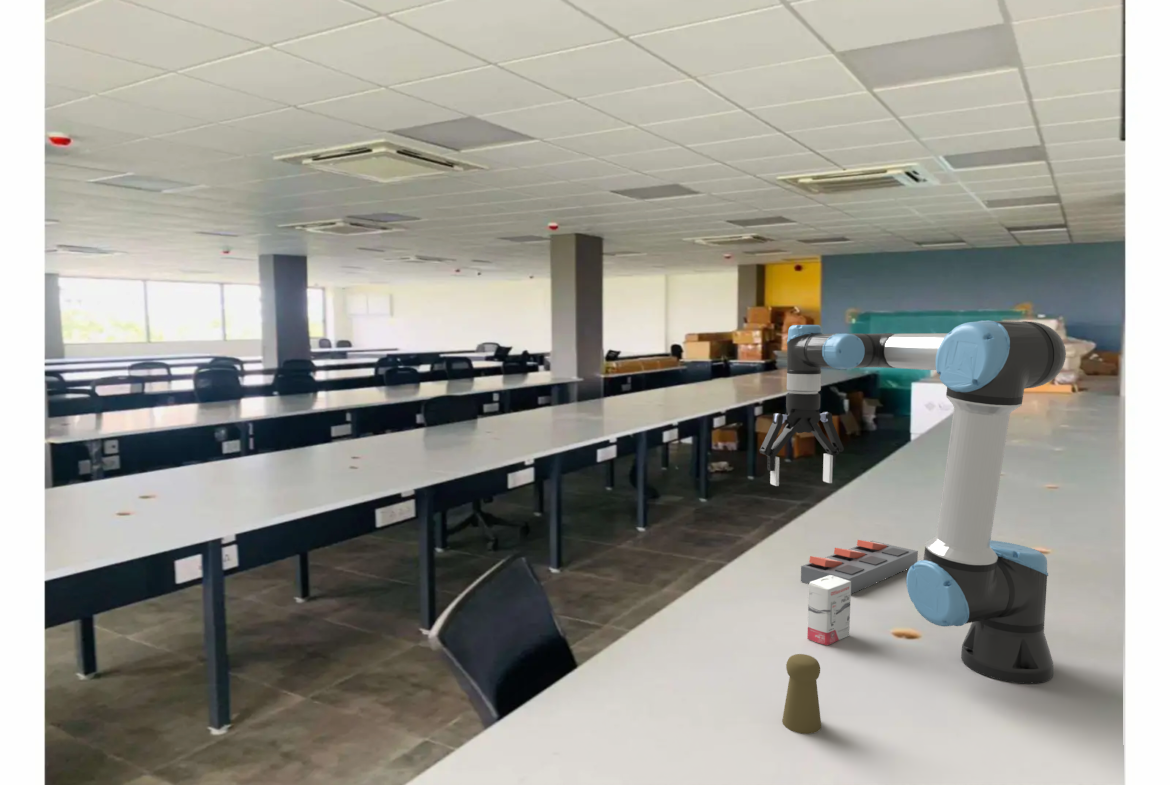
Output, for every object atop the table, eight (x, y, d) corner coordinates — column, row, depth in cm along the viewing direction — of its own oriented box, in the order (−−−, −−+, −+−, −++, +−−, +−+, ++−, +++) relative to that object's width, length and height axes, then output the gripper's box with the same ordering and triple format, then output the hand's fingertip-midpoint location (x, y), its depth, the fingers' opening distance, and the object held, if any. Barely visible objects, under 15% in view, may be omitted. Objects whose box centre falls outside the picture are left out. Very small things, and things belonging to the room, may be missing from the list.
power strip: (931, 559, 210) (932, 544, 210) (848, 595, 181) (848, 577, 181) (886, 549, 220) (887, 534, 219) (800, 581, 191) (801, 564, 191)
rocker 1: (841, 568, 193) (842, 561, 193) (824, 566, 188) (825, 559, 188) (825, 564, 197) (826, 557, 197) (809, 562, 191) (810, 555, 192)
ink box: (826, 646, 152) (828, 588, 151) (805, 639, 156) (807, 582, 155) (850, 635, 158) (852, 579, 157) (829, 628, 161) (831, 574, 160)
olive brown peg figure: (814, 714, 126) (815, 649, 125) (826, 733, 120) (828, 665, 119) (777, 714, 125) (779, 649, 124) (788, 734, 119) (790, 666, 118)
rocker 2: (864, 559, 201) (865, 553, 201) (849, 557, 196) (850, 550, 196) (849, 555, 204) (850, 549, 204) (833, 553, 199) (834, 547, 199)
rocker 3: (886, 551, 208) (887, 545, 209) (872, 549, 203) (873, 542, 203) (871, 547, 212) (872, 541, 212) (856, 545, 206) (857, 539, 207)
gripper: (842, 390, 182) (840, 478, 184) (746, 391, 176) (744, 482, 178) (861, 392, 175) (858, 484, 176) (761, 394, 169) (759, 489, 170)
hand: (801, 483), depth 177 cm, fingers open, 13 cm apart
